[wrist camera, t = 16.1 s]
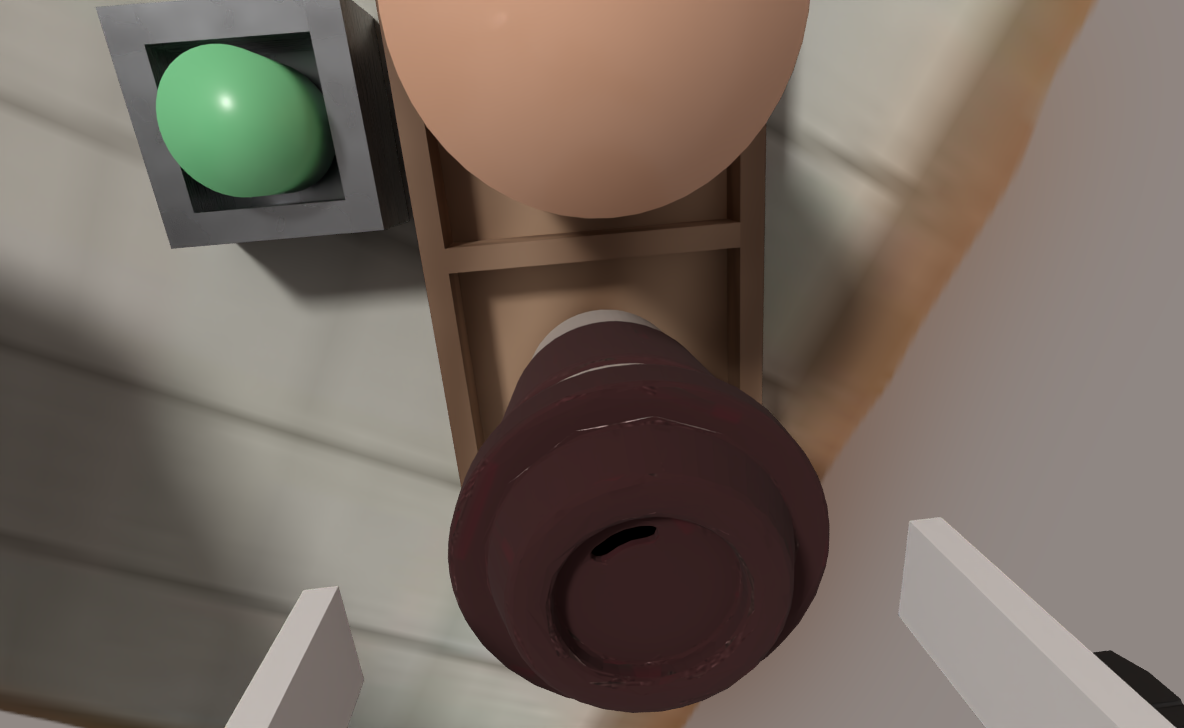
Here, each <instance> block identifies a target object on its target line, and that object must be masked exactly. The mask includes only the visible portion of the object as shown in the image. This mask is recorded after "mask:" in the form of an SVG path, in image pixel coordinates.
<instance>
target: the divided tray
mask: <svg viewBox="0 0 1184 728" xmlns="http://www.w3.org/2000/svg"><path fill="white" fill-rule="evenodd" d="M375 1H376V7H377V12H378V18H379V24H380V29H381V35H382V41H383V46H384V52H385V58H386V63H387V69H388V75H389V80H390V86H391V92H392V97H393V103H394V109H395V114H396V120H397V126H398V131H399V137H400V143H401V148H402V154H403V160H404V165H405V171H406V177H407V182H408V188H409V194H410V199H411V205H412V211H413V216H414V222H415V228H416V233H417V239H418V245H419V250H420V256H421V262H422V267H423V273H424V279H425V284H426V290H427V296H428V301H429V307H430V313H431V318H432V324H433V330H434V335H435V341H436V347H437V352H438V358H439V364H440V369H441V375H442V381H443V386H444V392H445V398H446V403H447V409H448V415H449V420H450V426H451V432H452V437H453V443H454V449H455V454H456V460H457V466H458V471H459V477H460V483H461V488H462V485H463V482H464V479H465V476H466V474H467V472H468V470H469V467H470V465H471V463H472V461H473V460H474V458H475V456H476V454H477V452H478V451H479V449H480V447H481V446H482V445H483V443H484V442H485V441H486V439H487V438H488V437H489V436H490V434H491V433H492V432H493V431H494V430H495V429H496V427H497V426H498V425H499V424H500V423H501V422H502V419H503V417H504V414H505V412H506V409H507V407H508V405H509V402H510V400H511V397H512V395H513V392H514V390H515V387H516V385H517V382H518V380H519V378H520V376H521V375H522V373H523V371H524V369H525V368H526V367H527V365H528V364H529V363H530V361H531V360H532V357H533V355H534V353H535V351H536V349H537V348H538V346H539V344H540V343H541V342H542V341H543V339H544V338H545V337H546V336H547V335H548V334H549V333H550V332H551V331H552V330H553V329H554V328H555V327H557V326H558V325H559V324H561V323H562V322H564V321H566V320H567V319H569V318H571V317H574V316H576V315H578V314H582V313H585V312H589V311H594V310H619V311H625V312H628V313H632V314H635V315H637V316H640V317H642V318H644V319H646V320H647V321H649V322H651V323H652V324H654V325H655V326H656V327H657V328H659V329H660V330H661V331H662V332H663V333H665V334H666V335H668V336H670V337H672V338H673V339H675V340H676V341H677V342H679V343H680V344H681V345H682V346H684V347H685V348H686V349H687V350H688V351H689V352H690V353H691V354H692V355H693V356H694V357H695V358H696V359H697V360H698V361H699V362H700V363H701V364H702V365H703V366H704V367H705V368H706V369H707V370H708V371H709V372H710V373H711V374H712V375H713V376H714V377H716V378H718V379H720V380H722V381H724V382H726V383H729V384H731V385H733V386H735V387H737V388H739V389H740V390H742V391H743V392H745V393H746V394H748V395H749V396H751V397H752V398H754V399H755V400H756V401H757V402H759V403H760V404H761V405H762V366H763V301H764V236H765V170H766V124H765V125H764V126H763V128H762V129H761V130H760V132H759V133H758V134H757V135H756V137H755V138H754V139H753V141H752V142H751V143H750V145H749V146H748V147H747V148H746V149H745V150H744V151H743V152H742V153H741V154H740V155H739V156H738V157H737V158H736V159H735V160H734V161H733V162H732V163H731V164H730V165H729V166H728V167H727V168H726V169H724V170H723V171H722V172H721V173H719V174H718V175H717V176H716V177H714V178H713V179H712V180H711V181H709V182H708V183H707V184H705V185H703V186H702V187H700V188H698V189H697V190H695V191H693V192H692V193H690V194H689V195H687V196H685V197H683V198H681V199H678V200H676V201H674V202H672V203H669V204H667V205H665V206H663V207H660V208H656V209H653V210H650V211H646V212H643V213H639V214H635V215H628V216H622V217H615V218H579V217H570V216H562V215H558V214H554V213H550V212H546V211H542V210H538V209H535V208H533V207H530V206H528V205H525V204H523V203H520V202H518V201H515V200H513V199H511V198H509V197H507V196H506V195H504V194H502V193H500V192H498V191H497V190H495V189H493V188H491V187H489V186H488V185H487V184H485V183H484V182H483V181H481V180H480V179H479V178H477V177H476V176H474V175H473V174H472V173H470V172H469V171H468V170H466V169H465V168H464V167H463V166H462V165H461V164H460V163H459V162H458V161H457V160H456V159H455V158H454V157H453V156H452V155H451V154H450V153H449V152H448V151H446V149H445V148H444V147H443V146H442V145H441V143H440V142H439V141H438V140H437V138H436V137H435V136H434V135H433V134H432V132H431V131H430V130H429V129H428V127H427V126H426V124H425V123H424V121H423V120H422V118H421V117H420V115H419V114H418V112H417V110H416V109H415V107H414V106H413V104H412V103H411V101H410V99H409V97H408V95H407V93H406V91H405V89H404V87H403V85H402V82H401V80H400V78H399V76H398V74H397V71H396V69H395V66H394V63H393V60H392V57H391V55H390V52H389V49H388V46H387V43H386V39H385V35H384V30H383V26H382V22H381V17H380V13H379V5H378V0H375Z"/></svg>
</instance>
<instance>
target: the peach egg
mask: <svg viewBox="0 0 1184 728" xmlns="http://www.w3.org/2000/svg"><path fill="white" fill-rule="evenodd" d="M809 4H810V0H378V5H379V13H380V17H381V22H382V26H383V30H384V35H385V39H386V43H387V46H388V49H389V52H390V55H391V57H392V60H393V63H394V66H395V69H396V71H397V74H398V76H399V78H400V80H401V82H402V85H403V87H404V89H405V91H406V93H407V95H408V97H409V99H410V101H411V103H412V104H413V106H414V107H415V109H416V110H417V112H418V114H419V115H420V117H421V118H422V120H423V121H424V123H425V124H426V126H427V127H428V129H429V130H430V131H431V132H432V134H433V135H434V136H435V137H436V138H437V140H438V141H439V142H440V143H441V145H442V146H443V147H444V148H445V149H446V151H448V152H449V153H450V154H451V155H452V156H453V157H454V158H455V159H456V160H457V161H458V162H459V163H460V164H461V165H462V166H463V167H464V168H465V169H466V170H468V171H469V172H470V173H472V174H473V175H474V176H476V177H477V178H479V179H480V180H481V181H483V182H484V183H485V184H487V185H488V186H489V187H491V188H493V189H495V190H497V191H498V192H500V193H502V194H504V195H506V196H507V197H509V198H511V199H513V200H515V201H518V202H520V203H523V204H525V205H528V206H530V207H533V208H535V209H538V210H542V211H546V212H550V213H554V214H558V215H562V216H570V217H579V218H615V217H622V216H628V215H635V214H639V213H643V212H646V211H650V210H653V209H656V208H660V207H663V206H665V205H667V204H669V203H672V202H674V201H676V200H678V199H681V198H683V197H685V196H687V195H689V194H690V193H692V192H693V191H695V190H697V189H698V188H700V187H702V186H703V185H705V184H707V183H708V182H709V181H711V180H712V179H713V178H714V177H716V176H717V175H718V174H719V173H721V172H722V171H723V170H724V169H726V168H727V167H728V166H729V165H730V164H731V163H732V162H733V161H734V160H735V159H736V158H737V157H738V156H739V155H740V154H741V153H742V152H743V151H744V150H745V149H746V148H747V147H748V146H749V145H750V143H751V142H752V141H753V139H754V138H755V137H756V135H757V134H758V133H759V132H760V130H761V129H762V128H763V126H764V125H765V124H766V122H767V120H768V119H769V117H770V115H771V114H772V112H773V110H774V109H775V107H776V105H777V104H778V102H779V100H780V99H781V97H782V94H783V92H784V90H785V88H786V86H787V83H788V81H789V79H790V77H791V74H792V72H793V70H794V67H795V63H796V60H797V57H798V54H799V51H800V48H801V45H802V42H803V37H804V32H805V27H806V22H807V17H808V13H809Z"/></svg>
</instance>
